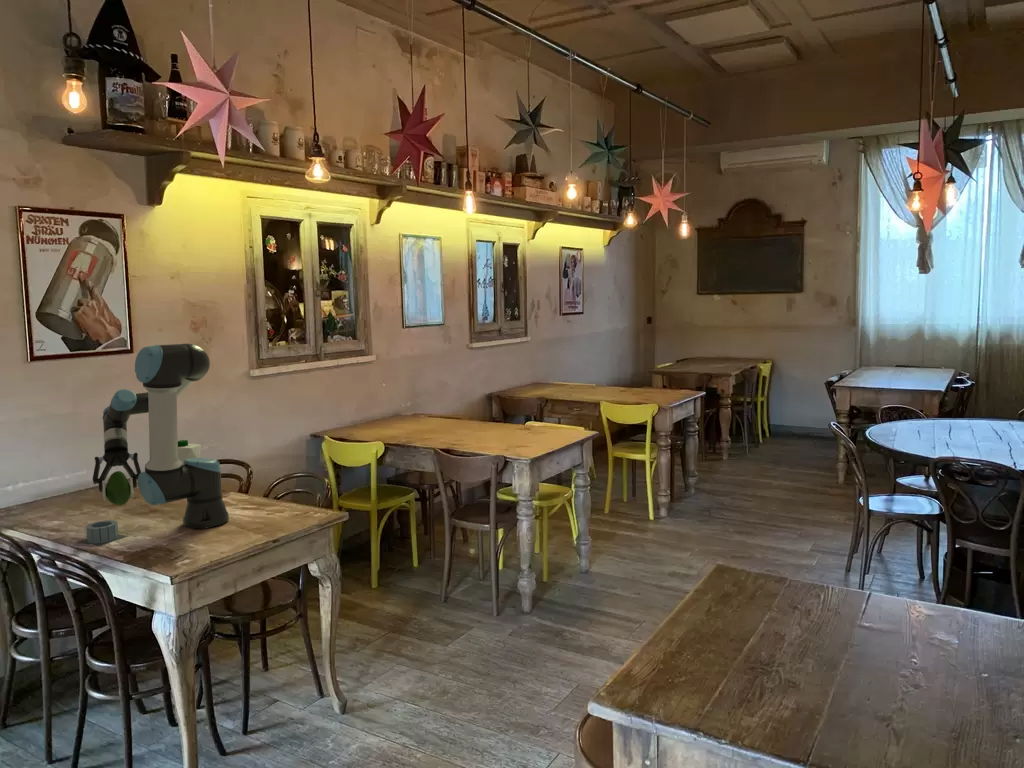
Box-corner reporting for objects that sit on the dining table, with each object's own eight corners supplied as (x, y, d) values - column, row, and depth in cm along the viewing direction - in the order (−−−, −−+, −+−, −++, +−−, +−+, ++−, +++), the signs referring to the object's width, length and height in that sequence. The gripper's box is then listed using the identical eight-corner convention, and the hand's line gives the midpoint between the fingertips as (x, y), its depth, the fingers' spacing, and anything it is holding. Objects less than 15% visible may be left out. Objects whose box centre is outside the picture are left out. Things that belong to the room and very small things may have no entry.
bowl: (124, 536, 250) (123, 522, 249) (100, 544, 242) (98, 530, 241) (105, 533, 253) (104, 519, 253) (81, 541, 245) (79, 526, 245)
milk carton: (186, 484, 320) (183, 438, 317) (206, 485, 318) (203, 439, 316) (174, 489, 311) (171, 442, 309) (194, 490, 310) (191, 443, 307)
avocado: (128, 500, 266) (125, 467, 264) (135, 504, 260) (132, 471, 258) (104, 505, 260) (100, 471, 259) (109, 509, 254) (106, 475, 253)
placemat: (129, 537, 250) (128, 535, 250) (99, 547, 240) (99, 546, 240) (106, 533, 255) (106, 532, 255) (76, 543, 245) (76, 542, 245)
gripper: (148, 446, 276) (152, 498, 264) (84, 452, 267) (85, 506, 255) (147, 434, 271) (151, 486, 258) (81, 440, 262) (82, 495, 249)
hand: (118, 496), depth 257 cm, fingers closed on avocado, 8 cm apart
